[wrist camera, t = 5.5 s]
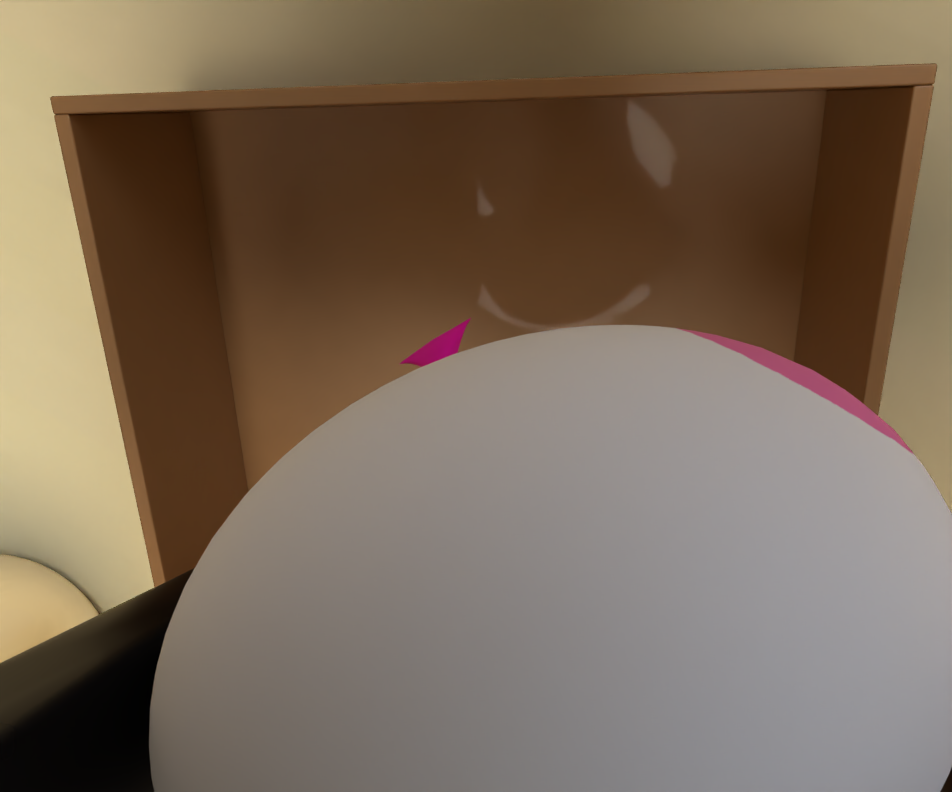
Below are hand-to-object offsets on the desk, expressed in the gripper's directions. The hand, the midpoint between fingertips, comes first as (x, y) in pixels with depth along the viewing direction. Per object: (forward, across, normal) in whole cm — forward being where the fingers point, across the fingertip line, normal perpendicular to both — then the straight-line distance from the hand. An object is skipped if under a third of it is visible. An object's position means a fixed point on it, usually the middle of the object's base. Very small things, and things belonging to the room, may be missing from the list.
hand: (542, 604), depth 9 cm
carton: (+10, +2, +1) cm, 11 cm away
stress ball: (+1, 0, 0) cm, 1 cm away
